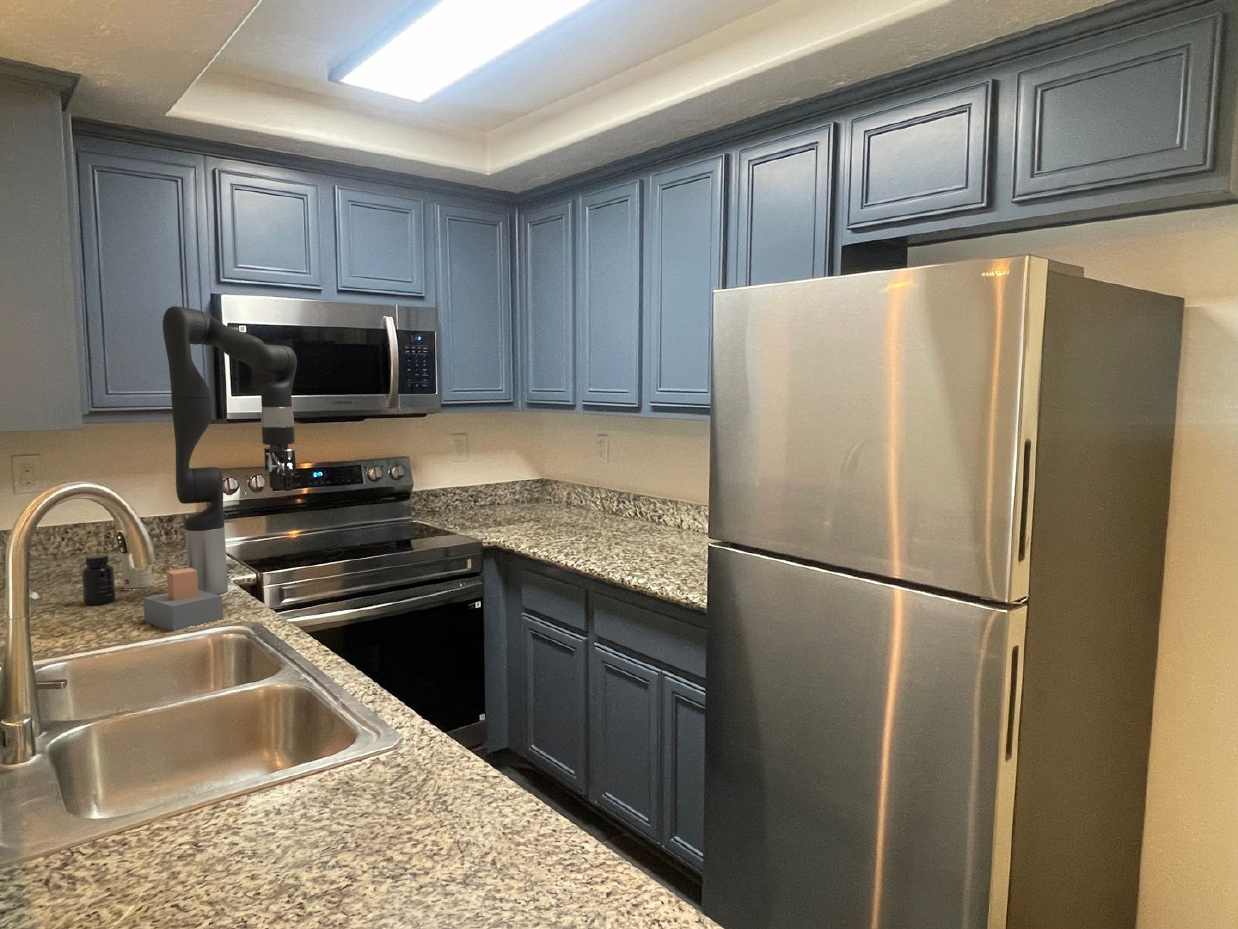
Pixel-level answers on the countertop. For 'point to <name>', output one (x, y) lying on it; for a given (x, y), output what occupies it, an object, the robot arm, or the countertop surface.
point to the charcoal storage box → (182, 610)
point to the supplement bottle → (98, 581)
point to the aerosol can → (135, 576)
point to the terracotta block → (182, 583)
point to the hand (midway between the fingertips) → (281, 489)
